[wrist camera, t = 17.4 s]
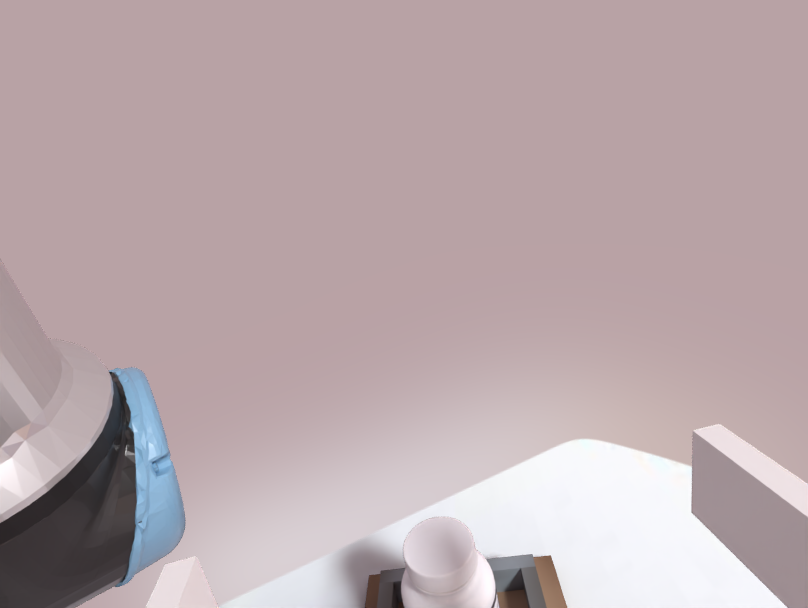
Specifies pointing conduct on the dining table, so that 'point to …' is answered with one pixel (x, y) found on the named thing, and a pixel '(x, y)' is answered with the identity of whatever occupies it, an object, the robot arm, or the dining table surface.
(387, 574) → the trough board
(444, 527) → the pill bottle
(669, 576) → the dining table surface
